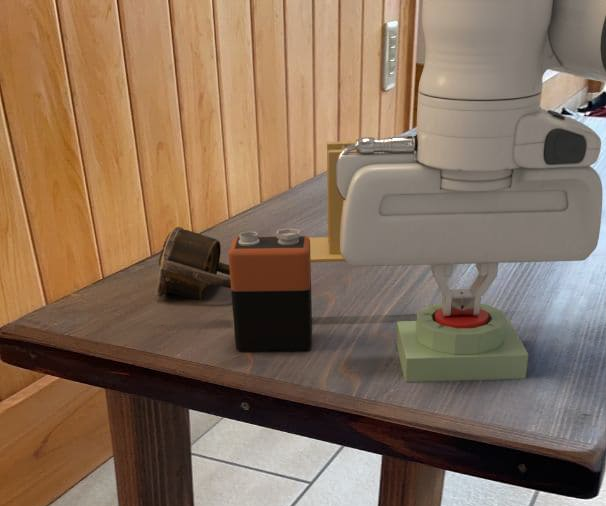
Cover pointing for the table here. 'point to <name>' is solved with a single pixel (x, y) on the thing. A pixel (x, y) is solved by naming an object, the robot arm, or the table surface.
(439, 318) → the button
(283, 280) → the battery
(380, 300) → the table surface
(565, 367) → the table surface
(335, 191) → the bracket
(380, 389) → the table surface
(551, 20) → the robot arm
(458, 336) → the switch block
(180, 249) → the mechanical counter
